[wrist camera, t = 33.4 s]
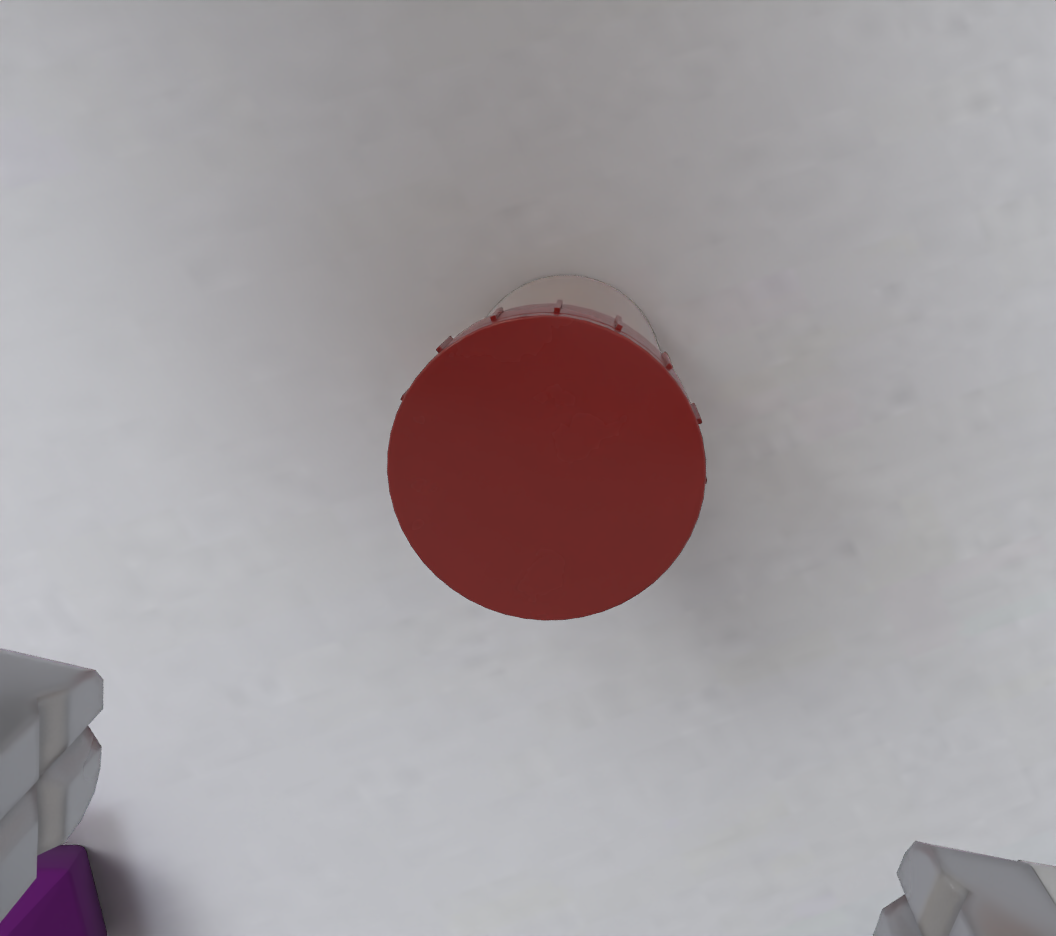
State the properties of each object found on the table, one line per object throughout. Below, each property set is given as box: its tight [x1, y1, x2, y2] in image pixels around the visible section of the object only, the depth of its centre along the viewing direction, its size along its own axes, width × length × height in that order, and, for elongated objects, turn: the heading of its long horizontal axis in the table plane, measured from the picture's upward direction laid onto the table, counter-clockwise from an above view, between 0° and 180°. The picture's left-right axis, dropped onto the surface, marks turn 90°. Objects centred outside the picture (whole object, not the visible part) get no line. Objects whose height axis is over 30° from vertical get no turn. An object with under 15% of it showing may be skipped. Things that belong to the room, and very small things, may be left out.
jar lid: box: [387, 300, 707, 620], centre depth 18 cm, size 6×6×2 cm
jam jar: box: [485, 275, 661, 353], centre depth 22 cm, size 6×6×10 cm
